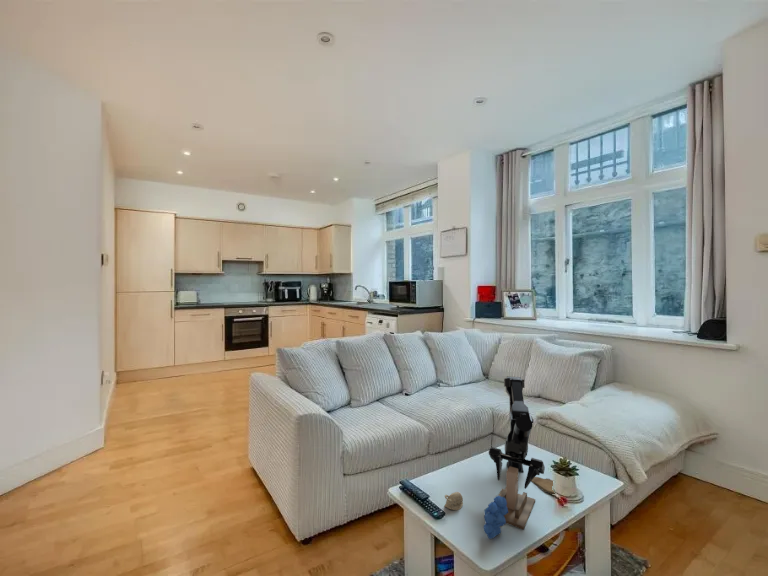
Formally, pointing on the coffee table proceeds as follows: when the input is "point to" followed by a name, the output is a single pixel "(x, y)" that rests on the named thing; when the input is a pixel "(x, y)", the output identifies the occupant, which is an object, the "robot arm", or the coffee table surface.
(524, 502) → the walnut rack
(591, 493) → the coffee table surface
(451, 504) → the decorative ornament
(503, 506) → the grapes
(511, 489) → the brown rectangular box
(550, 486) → the pottery shard
